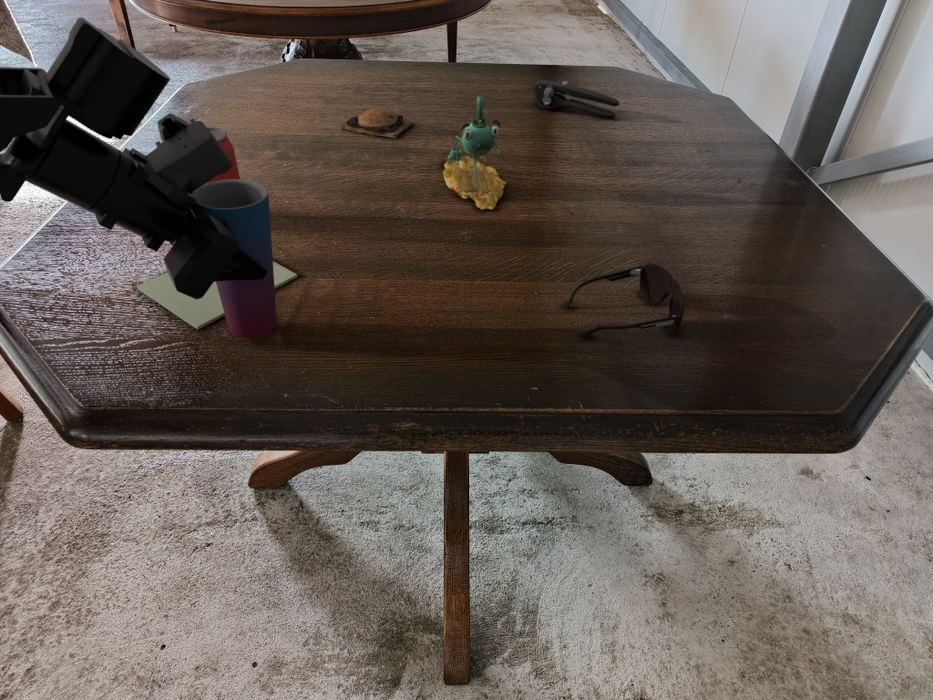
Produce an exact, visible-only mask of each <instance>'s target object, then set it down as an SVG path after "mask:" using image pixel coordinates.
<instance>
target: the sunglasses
mask: <svg viewBox="0 0 933 700" xmlns="http://www.w3.org/2000/svg"><path fill="white" fill-rule="evenodd" d="M638 275H639V289H640V291H641V292H642V293H643V295H644V296H645V297H646V299H647V300H648V301H650V302H651V303H652V304H660V303H662V302H663V301H664V300H666V299H667V297H668V296H669V295H670V294H671V297H670V299H669V303H668V304H669V305H668V306H669V307H668V316H667V317H663V318H658V319H653V320H652V319H651V320H647V321H643V322H637V323H633V324H626V325H601V326H596V327H594V328H591V329H590V330H588V331H585V332H584V333H583V337H584V338H585V339H587V338H590V337H591V335H593V334H594V333H596V332H599V331H603V330H627V329H635V328H638V329H641V330H644V331H645V330H652V329H657V328H662V327H667V326H668V327H669V330H670V332H671V333H673V334H676V333H677V332H678V330H679V328H680V326H681V323H682V321H683V318H684V314H685V310H686V309H685V308H686V294H685V289H684V287H683V286H682V284H681V283H680V281H679V280H678V278H677V277H676V276H675V275H674V274H673V272H671V271H670V270H669V269H668V268H666V267H665V266H662V265H660V264H657V263H653V262H647V263H646V264H645V265H641V264H640V265H637V266H636V267H635V266H634V267H631V268H627V269H624V270H620V271H616V272H612V273H608V274H603V275H599V276H596V277H593V278H590V279H588V280H585V281H583V282H581V283H580V284H579V285H577V286H576V287H575V288H574V289H573V291H572V293H571V295H570V297H569V300H568V302H567V308H569V309H570V308H571V307H572V306H573V302H574V301H573V300H574V298H575V295H576V294H577V293H578V291H579V290H580V289H581V288H583V287H584V286H587V285H589V284H591V283H594V282H597V281H602V280H607V281H610V282H615V281H619V280H624V279H627V278H632V277H635V276H638Z"/></svg>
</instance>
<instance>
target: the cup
mask: <svg viewBox="0 0 933 700" xmlns="http://www.w3.org/2000/svg"><path fill="white" fill-rule="evenodd" d="M192 195H194V196H195V198H196V199H197V201H196V202H195V203H194V207H195V211H196V214H197V217H201V216H206V215H210V216H211V217H213V218H215V219H217V220H218V221H220V222H221V223H222V222H223V220H225V221H226V223H227V224H228V225H229V227H230V228H231V230H232V231H233V233H234V236H235V238H236V239H237V240H238V242H239V244H238V247H239V248H240V249H241V250H243V251H244V252H245V253H246V254H248V255H249V256H250V257H252V258H253V259H254V260H255V261H257V262H258V263H259V264H260V265H262V266H263V267H264V268H265V269H266V270H267V271H268V273H267V274H266V276H265V277H264V278H263V279H262V280H232V281H231V280H230V281H216V285H217V288H218V292H219V295H220V299H221V302H222V306H223V310H224V313H225V316H224V317H225V319H226V323H227V327H228V330H229V332H230V333H231V334H233V335H234V336H237V337H240V338H245V339H246V338H247V339H249V338H250V339H252V338H258V337H262V336H265V335H267V334H269V333H271V332H272V331H273V330H275V328H276V326H277V324H278V318H277V317H278V315H277V301H276V289H275V286H274V271H273V262H274V258H273V257H274V256H273V242H272V228H271V214H270V211H271V210H270V199H269V197H270V196H269V189H268V188H267V186H265V185H263V184H262V183H260V182H257V181H254V180H249V179H241V178H240V179H230V180H220V181H215V182H211V183H207V184H205V185H203V186H201V187H200V188H198V189H196V190H195V191H194V192H193V194H192Z"/></svg>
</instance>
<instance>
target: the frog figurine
mask: <svg viewBox="0 0 933 700" xmlns="http://www.w3.org/2000/svg"><path fill="white" fill-rule="evenodd" d="M491 124H492V126H489V125H488V120H487V119H486V117H484V98H483V97H482V96H481V95H480V96H477V97H476V115H475V119H474V118H473V117H471V118H470V123H469V122H465V123H463V124H462V125H461V126H460V128H459V132H460V133H461V132H462V135H461V138H460V137H459V136H458V135H455V136H454V141H453V145H452V148H451V149H450V150H449V153H448V155H447V156H446V157H447V159H446V162H445V163H444V164H443V166H444V170H443V172H442V174H443V179H444V181H445V184H446V186H447V188H448V189H450V190H451V191H455V193H457V194H458V196H460V197H461V198H462V199H465V200H467V199H469V198H470V199H472V201H474V202H475V205H476V207H477V208H479V209H480V210H482V211H483V210H494V209H495V208H496V206H497V203H498V201H499V200H500V199H502V196H503V194H504V189H505V186H506V185H507V181H504V180H503V179H502V178H500V177H499V173H498V171H497V170H496V169H495V168H494V167H492V166H486V165H485V164H484V163H486V161H487V157H486V155H487V154H489V153H490V152H491V150H493V149H492V148H494V147H496V149H497V154H498V156H501V157H502V159H503V162H506V160H507V159H506V156H505V155H503V153H502V151H501V150H500V148H499V147H498V145H497V143H496V142H495V137H497V136H498V135H499V134H500V127H502V123H501V122H500V120H498V119H493V120H491ZM457 139H458V140H459V143H458V141H457ZM461 144H462V148H458V147H459V146H460V145H461ZM463 149H464V151H465V153H466V154H468V155H463V156H462V153H463ZM477 157H480V160H482V159H483V160H484V163H481V162H480V160H477Z"/></svg>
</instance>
